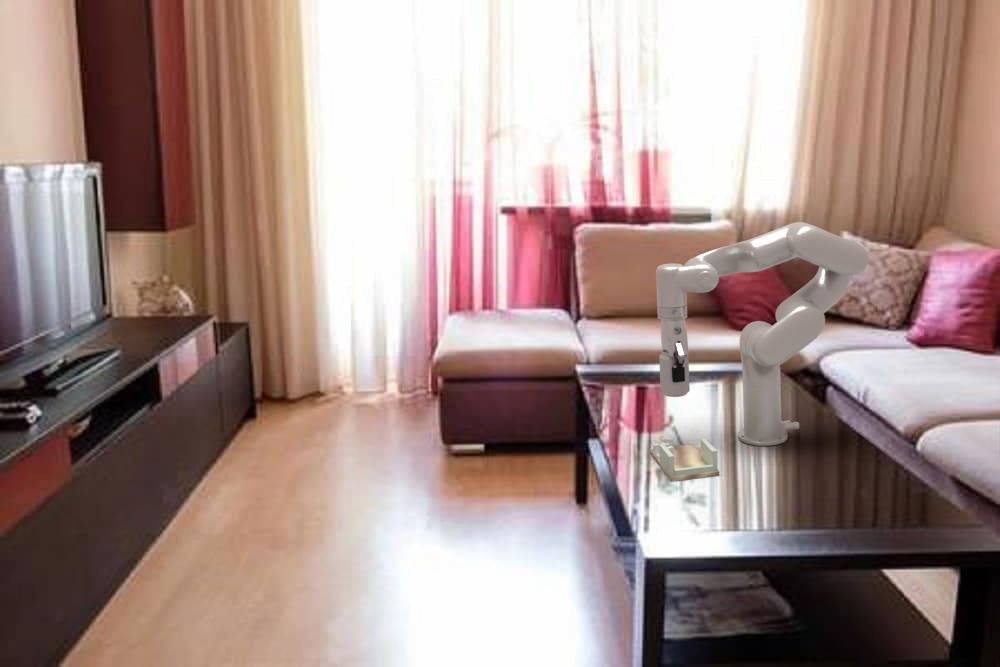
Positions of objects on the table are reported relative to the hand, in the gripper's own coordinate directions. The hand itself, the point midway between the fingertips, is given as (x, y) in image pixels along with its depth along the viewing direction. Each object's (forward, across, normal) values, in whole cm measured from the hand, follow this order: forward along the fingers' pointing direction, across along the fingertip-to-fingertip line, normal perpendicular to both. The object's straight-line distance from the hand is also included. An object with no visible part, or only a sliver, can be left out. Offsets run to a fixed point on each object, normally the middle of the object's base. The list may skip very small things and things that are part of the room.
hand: (674, 377), depth 232 cm
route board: (+19, -13, +2) cm, 23 cm away
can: (+5, 0, 0) cm, 5 cm away
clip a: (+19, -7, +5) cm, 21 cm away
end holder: (+18, -18, +2) cm, 25 cm away
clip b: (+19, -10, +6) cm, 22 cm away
